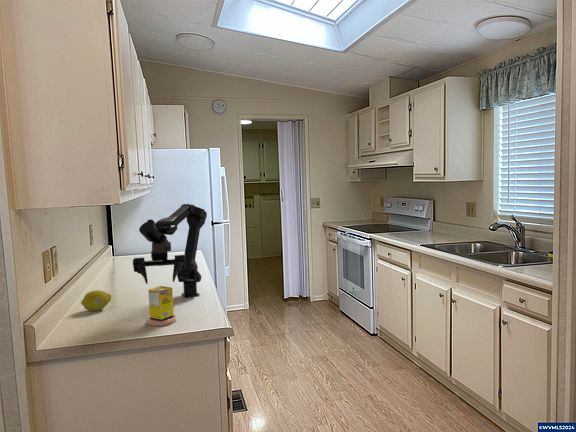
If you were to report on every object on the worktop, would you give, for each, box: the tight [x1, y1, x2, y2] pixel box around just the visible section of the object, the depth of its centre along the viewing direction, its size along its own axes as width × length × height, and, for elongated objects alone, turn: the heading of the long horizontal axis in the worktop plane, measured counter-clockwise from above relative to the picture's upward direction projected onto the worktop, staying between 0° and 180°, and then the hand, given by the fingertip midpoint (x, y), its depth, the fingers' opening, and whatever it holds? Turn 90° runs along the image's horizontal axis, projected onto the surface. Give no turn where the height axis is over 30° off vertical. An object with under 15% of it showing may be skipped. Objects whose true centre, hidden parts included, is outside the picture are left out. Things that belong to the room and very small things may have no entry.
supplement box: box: [147, 285, 175, 322], centre depth 150 cm, size 6×6×11 cm
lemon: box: [80, 289, 112, 312], centre depth 166 cm, size 11×8×8 cm
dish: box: [146, 315, 177, 327], centre depth 150 cm, size 10×10×1 cm
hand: (160, 282), depth 152 cm, fingers open, 9 cm apart
